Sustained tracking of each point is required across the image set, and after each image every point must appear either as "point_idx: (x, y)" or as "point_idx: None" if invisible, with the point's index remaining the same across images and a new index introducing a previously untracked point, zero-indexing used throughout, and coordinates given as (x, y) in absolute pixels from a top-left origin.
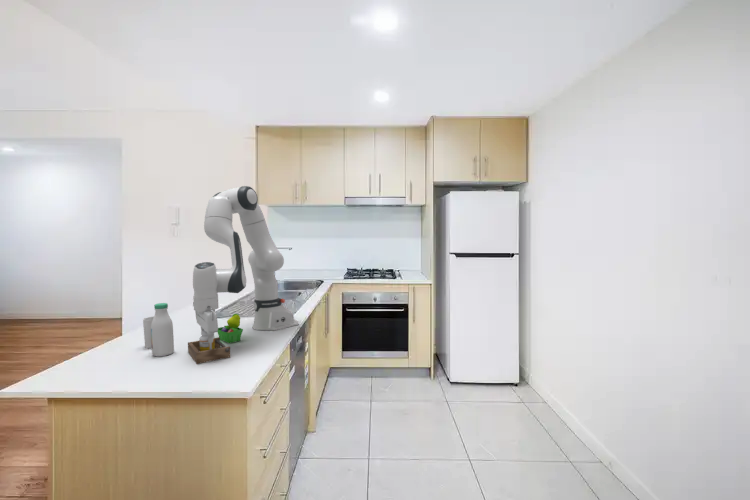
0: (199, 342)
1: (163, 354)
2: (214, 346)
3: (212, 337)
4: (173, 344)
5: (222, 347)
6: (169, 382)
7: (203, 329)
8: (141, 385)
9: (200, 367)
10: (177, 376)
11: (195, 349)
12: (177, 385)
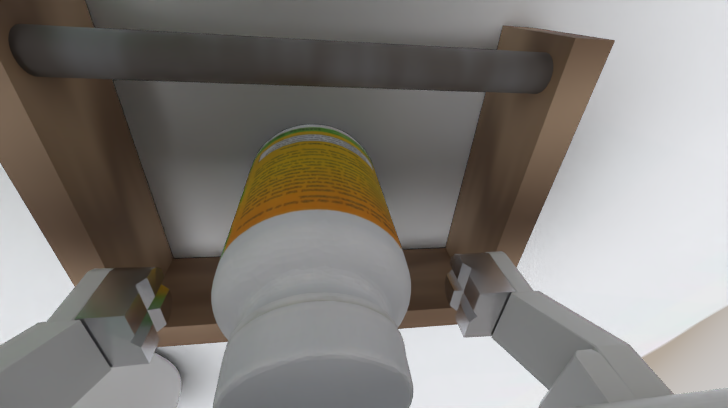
0: (116, 265)
1: (181, 385)
2: (351, 162)
3: (545, 305)
4: (89, 401)
5: (542, 128)
6: None
7: (36, 405)
8: (520, 403)
9: (535, 255)
10: None
11: None
12: (637, 335)
